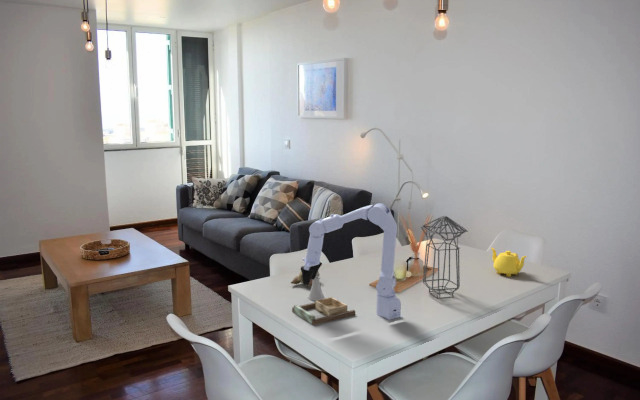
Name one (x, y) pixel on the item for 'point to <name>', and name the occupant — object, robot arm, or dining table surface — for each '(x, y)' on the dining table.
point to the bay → (311, 318)
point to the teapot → (507, 263)
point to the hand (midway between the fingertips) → (308, 281)
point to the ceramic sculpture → (300, 279)
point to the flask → (316, 290)
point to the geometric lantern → (445, 252)
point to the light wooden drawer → (330, 306)
